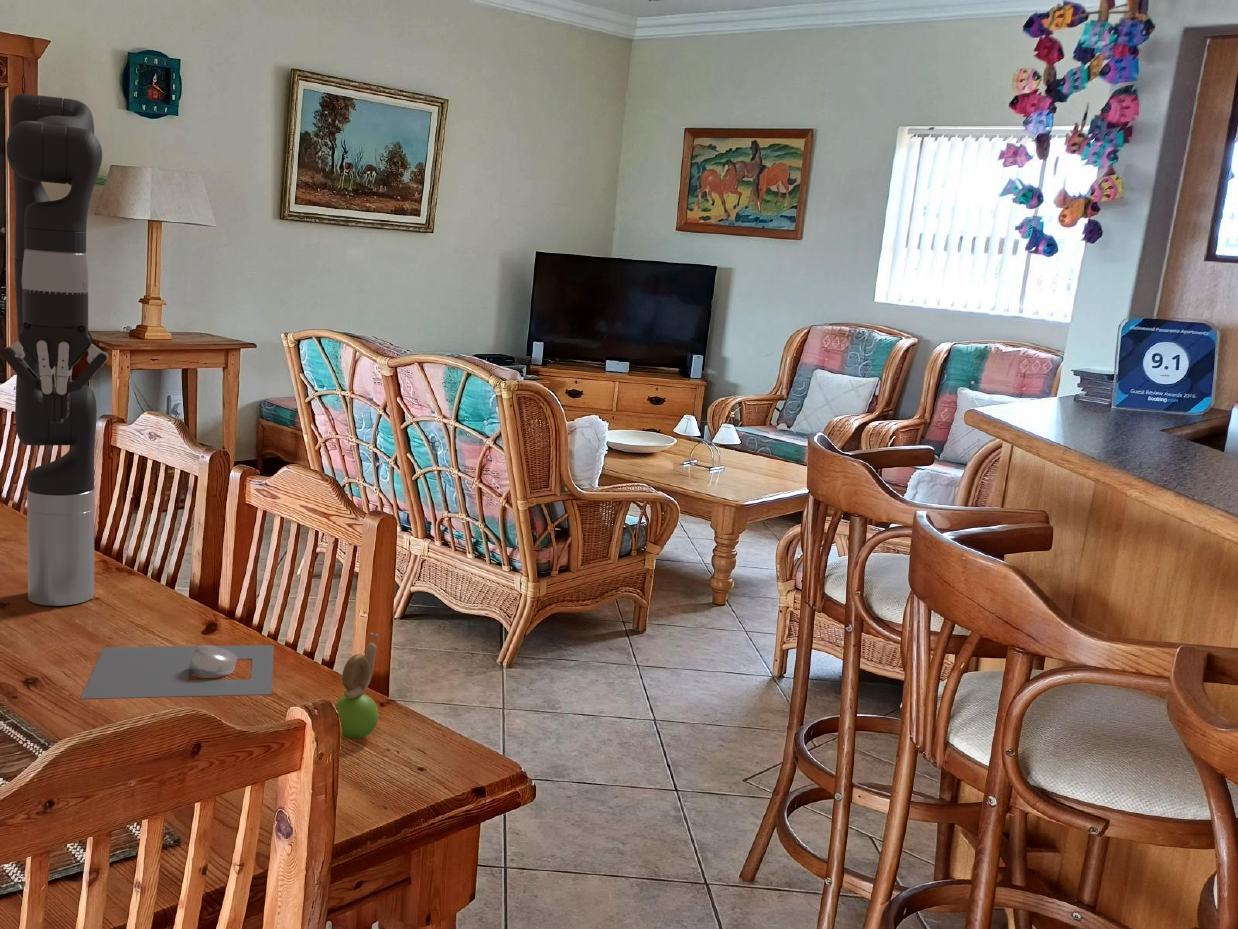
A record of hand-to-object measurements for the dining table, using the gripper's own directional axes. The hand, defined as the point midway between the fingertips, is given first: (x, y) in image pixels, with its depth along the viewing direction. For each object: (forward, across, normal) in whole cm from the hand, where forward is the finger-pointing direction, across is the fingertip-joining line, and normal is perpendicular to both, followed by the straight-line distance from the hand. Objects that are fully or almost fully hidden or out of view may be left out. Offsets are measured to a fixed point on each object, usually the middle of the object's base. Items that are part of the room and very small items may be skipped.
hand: (56, 422), depth 149 cm
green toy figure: (+32, -38, +29) cm, 58 cm away
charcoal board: (+32, -17, +10) cm, 37 cm away
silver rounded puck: (+31, -20, +10) cm, 38 cm away
